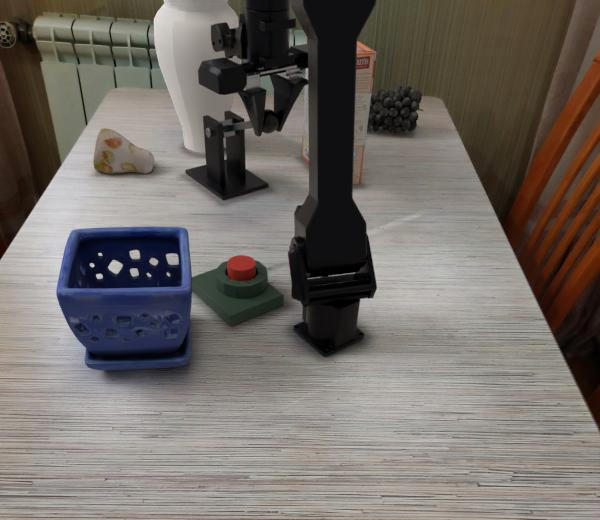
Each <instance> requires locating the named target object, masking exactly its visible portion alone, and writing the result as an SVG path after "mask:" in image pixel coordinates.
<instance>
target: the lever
mask: <svg viewBox="0 0 600 520" xmlns="http://www.w3.org/2000/svg"><path fill="white" fill-rule="evenodd" d="M219 122H221V123H222V124H223V138H226V137H230V136H234V135H236V134H235V131H237V130H243V129H245V130H249V129H253V127H252V125H251V122H250V120H244V122H240V123H235V124H233V120H232V119H229V120H224V121H219ZM278 125H279V119H278V116H277V114H276V113H275V112H274V109H270V108H265V113H264V123H263V130H262V134H267V135H268V134H272V133H274V132H275V131H276V129H277V127H278Z"/></svg>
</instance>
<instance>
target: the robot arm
mask: <svg viewBox="0 0 600 520" xmlns="http://www.w3.org/2000/svg"><path fill="white" fill-rule="evenodd" d="M376 5H377V0H244V12H242V13H239V16H238V18H239V26H238V27H237V28H232V29H230V28H229V26H228V24H227V23H226V22H225V23H217V24H213V25H211V42H212V47H213V50H214V51H215V52H221V51H224V53H225V58H218V59H212V60H206V61H202V63H201V65H200V67H199V69H198V79H199V84H200V85H202V86H204V87H206V88H208V89H210V90H211V91H213V92H215V93H217V94H219V95H228V94H233V93H235V94H238V95H239V97H240V99H241V101H242V103H243V106H244V108H245V111H246V113H247V116H248V119H249V121H250V122H251V125H252V127H253V128H252V130H253V132H254V134H255V136H256V137H259V138H260V137H262V135H263V132H262V130H263V123H264V113H265V109H266V101H267V91H268V90H267V89H266V88H265V87H262V86H261V78H263V77H267V76H269V79H270V81H271V82H270V83H271V85H272V87H273V88H272V89H273V111H274V112H275V113H276V114H277V116H278V119H279V125H278V127H277V129H276V130H275V131H276V132H278V133H280V132H282V131H283V128H284V126H285V123H286V121H287V120H288V117H289V116H290V113H291V112H292V109H293V107H294V105H295V103H296V101H297V100H298V98H299V96H300V94H301V93H302V91H303V89H304V88H305V85H308V117H309V163H308V195H307V197H306V198H305V200H304V201H303V203H302V204H298V205H296V208H295V210H294V212H293V219H294V221H293V222H294V236H293V237H292V238H291V240H290V245H289V247H288V248H289V250H288V251H287V258H288V266H289V274H290V275H289V276H290V281H291V292H290V293H291V294H290V295H291V299H293V300H295V301H298V302H300V304H301V306H302V314H301V315H302V316H301V317H302V318H301V319H302V320H303V321H301V322H298V323H297V324H294V325H293V326H292V330H293V332H294V333H295V334H297V335H298V336H299V337H300V338H301V339H302V340H303V341H305V342H306V343H307V344H308V345H310V346H311V347H312V348H313V349H314V350H316V351H317V353H319V354H320V355H322V356H323V357H328V356H331V355H333V354H334V353H337V352H339V351H340V350H343V349H345V348H347V347H349V346H351V345H354V344H356V343H358V342H360V341H362V340H364V339H365V335H366V334H365V332H363V331H362V330H361V329H360V328H358V321H359V320H358V319H359V312H360V304H361V300H362V299H363V300H364V299H374V297H375V294H376V291H377V289H378V285H377V280H376V273H375V266H374V261H373V255H372V249H371V244H370V239H369V235H368V233H367V231H368V230H367V228H368V227H367V225H368V224H367V221H366V220H365V217H364V216H363V214H362V212H361V210H360V208H359V207H358V205H357V204H356V202H355V200H354V198H353V197H354V196H353V191H354V190H353V189H354V184H353V161H354V128H355V95H356V62H357V41H358V39H359V36H360V35H361V33H362V32H363V29H364V27H365V25H366V24H367V22H368V20H369V19H370V16H371V15H372V13H373V11H374V9H375V7H376ZM291 10H292V12H293V14H294V15H295V18H294V17H292V16H291ZM297 21H298V23H299V25H300V27H301V28H302V30H303V33H304V34H305V36H306V40H307V39H308V44H307V43H303V44H297V45H291V46H290V29H295V28H296V27H297V25H296V24H297ZM233 56H237V58H239V59H241V60H242V61H243V60H245V62H242V63H241V64H238V63H236V62H233V61H231V60H229V59H230V58H233ZM306 68H308V79H305V77H304V70H306Z"/></svg>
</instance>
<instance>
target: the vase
mask: <svg viewBox="0 0 600 520" xmlns="http://www.w3.org/2000/svg"><path fill="white" fill-rule="evenodd" d="M225 22H226V23H227V24H228V26H229V28H230V29H232V28H237V27H238V26H239V16H238V14H237V12H236V11H235V10H234V9H233V8H232V7H231V6H230V5H229V0H163V4H162V5H161V7H160V8H158V10H157V12H156V14H155V16H154V18H153V41H154V43H153V44H154V48H155V53H156V58H157V63H158V67H159V68H160V71H161V75H162V76H163V80H164V83H165V85H166V87H167V90H168V93H169V96H170V99H171V101H172V104H173V106H174V110H175V112H176V115H177V117H178V120H179V123H180V125H181V129H182V135H183V145H184V147H185V149H187V150H189V151H192V152H195V153H202V154H203V153H204V154H205V140H204V126H203V116H206V115H209V116H210V117H212V118H214V119H215V120H217V121H224V120H225V115H224V111H229V110H230V111H231V112H232V106H233V103H234V98H235V94H236V93H233V94H228V95H219V94H217V93H215V92H213V91H211V90H210V89H208V88H206V87H204V86H202V85H200V84H199V79H198V69H199V67H200V65H201V63H202V61H206V60H212V59H218V58H225V53H224V51H221V52H215V51H214V50H213V47H212V42H211V25H213V24H217V23H225ZM229 60H231V61H233V62H236V63H238V64H243V60H241V59H239V58H237V56H233V58H230V59H229ZM223 140H224V149H226V138H223Z"/></svg>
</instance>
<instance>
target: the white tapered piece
mask: <svg viewBox="0 0 600 520" xmlns="http://www.w3.org/2000/svg"><path fill="white" fill-rule="evenodd" d="M92 160H93V162H92V163H93V168H94V170H96V171H98V172H100V173H103V174H107V175H108V174H109V175H110V174H111V175H112V174H113V175H114V174H124V173H136V174H137V173H138V174H143V175H146V174H150V173H151V172H152V171H153V169H154V165H155V156H154V155H153V153H152V151H150V150H147V149H144V148H141V147H139V146H137V145H136V144H134V143H133V142H131V141H130V140H129V139H127V138H126V137H125V136H124V135H122V134H121V133H119V132H118V131H116V130H114V129H111V128H104V127H103V128H100V130H99V132H98V134H97V137H96V141H95V147H94V152H93V159H92Z"/></svg>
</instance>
